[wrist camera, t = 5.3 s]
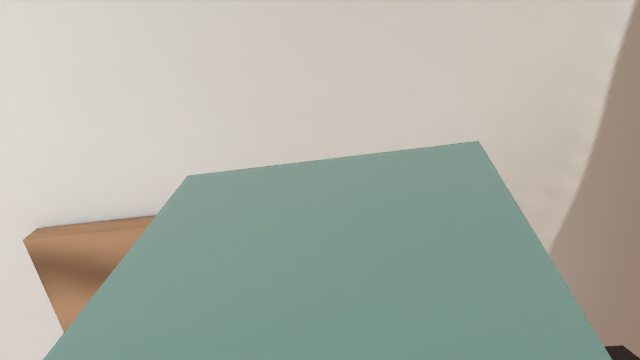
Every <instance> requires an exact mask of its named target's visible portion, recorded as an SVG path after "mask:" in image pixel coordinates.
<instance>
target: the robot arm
mask: <svg viewBox="0 0 640 360" xmlns="http://www.w3.org/2000/svg"><path fill="white" fill-rule="evenodd" d="M605 349H606V350H607V352H608V354H609V355H610V357H611V358H612V360H640V358H638V357H637V356H636V355H634V354H633V353H632V352H631V351H629V350H628V349H627V348H625V347H624V346H607V347H605Z"/></svg>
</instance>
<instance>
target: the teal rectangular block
mask: <svg viewBox="0 0 640 360" xmlns="http://www.w3.org/2000/svg"><path fill="white" fill-rule="evenodd" d="M43 360H612V358H611V357H610V355H609V354H608V352H607V350H606V349H605V347H604V345H603V344H602V342H601V340H600V339H599V337H598V336H597V334H596V332H595V331H594V329H593V327H592V326H591V324H590V323H589V321H588V320H587V318H586V316H585V315H584V313H583V311H582V310H581V308H580V306H579V304H578V303H577V301H576V300H575V298H574V296H573V295H572V293H571V291H570V290H569V288H568V286H567V285H566V283H565V282H564V280H563V278H562V277H561V275H560V274H559V272H558V270H557V268H556V267H555V265H554V264H553V262H552V260H551V259H550V257H549V255H548V254H547V252H546V250H545V249H544V247H543V246H542V244H541V242H540V241H539V239H538V237H537V236H536V234H535V232H534V231H533V229H532V228H531V226H530V224H529V223H528V221H527V219H526V218H525V216H524V214H523V213H522V211H521V210H520V208H519V206H518V205H517V203H516V201H515V200H514V198H513V196H512V195H511V193H510V192H509V190H508V188H507V187H506V185H505V183H504V182H503V180H502V178H501V177H500V175H499V174H498V172H497V170H496V169H495V167H494V165H493V164H492V162H491V160H490V159H489V157H488V156H487V154H486V152H485V151H484V149H483V147H482V146H481V144H480V142H479V141H475V142H467V143H458V144H450V145H442V146H433V147H425V148H416V149H408V150H400V151H391V152H383V153H375V154H366V155H358V156H350V157H341V158H333V159H325V160H316V161H308V162H299V163H291V164H283V165H274V166H266V167H258V168H249V169H241V170H233V171H224V172H216V173H207V174H199V175H191V176H187V177H186V179H185V180H184V181H183V182H182V184H181V185H180V186H179V188H178V189H177V190H176V191H175V193H174V194H173V195H172V196H171V198H170V199H169V200H168V201H167V203H166V204H165V205H164V207H163V208H162V209H161V210H160V212H159V213H158V214H157V215H156V217H155V218H154V219H153V221H152V222H151V223H150V224H149V226H148V227H147V228H146V229H145V231H144V232H143V233H142V235H141V236H140V237H139V238H138V240H137V241H136V242H135V243H134V245H133V246H132V247H131V249H130V250H129V251H128V252H127V254H126V255H125V256H124V257H123V259H122V260H121V261H120V262H119V264H118V265H117V266H116V268H115V269H114V270H113V271H112V273H111V274H110V275H109V276H108V278H107V279H106V280H105V282H104V283H103V284H102V285H101V287H100V288H99V289H98V290H97V292H96V293H95V294H94V296H93V297H92V298H91V299H90V301H89V302H88V303H87V304H86V306H85V307H84V308H83V310H82V311H81V312H80V313H79V315H78V316H77V317H76V318H75V320H74V321H73V322H72V323H71V325H70V326H69V327H68V329H67V330H66V331H65V332H64V334H63V335H62V336H61V337H60V339H59V340H58V341H57V343H56V344H55V345H54V346H53V348H52V349H51V350H50V351H49V353H48V354H47V355H46V357H45V358H44V359H43Z"/></svg>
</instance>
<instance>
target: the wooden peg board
mask: <svg viewBox="0 0 640 360" xmlns="http://www.w3.org/2000/svg"><path fill="white" fill-rule="evenodd" d="M155 217H156V216H148V217H139V218H129V219H120V220H111V221H102V222H92V223H83V224H74V225H65V226H56V227H46V228H37V229H36V230H35V231H33V232H32V233H31V234H30V235H28V236H27V237H26V238H25V239H24V240H23V241H24V244H25V246H26V248H27V250H28V253H29V255H30V257H31V259H32V262H33V264H34V266H35V268H36V270H37V273H38V275H39V277H40V279H41V282H42V284H43V286H44V288H45V291H46V293H47V295H48V297H49V300H50V302H51V304H52V306H53V309H54V311H55V313H56V315H57V318H58V320H59V322H60V324H61V326H62V329H63V331H64V332H65V331H66V330H67V329H68V327H69V326H70V325H71V323H72V322H73V321H74V320H75V318H76V317H77V316H78V315H79V313H80V312H81V311H82V310H83V308H84V307H85V306H86V304H87V303H88V302H89V301H90V299H91V298H92V297H93V296H94V294H95V293H96V292H97V290H98V289H99V288H100V287H101V285H102V284H103V283H104V282H105V280H106V279H107V278H108V276H109V275H110V274H111V273H112V271H113V270H114V269H115V268H116V266H117V265H118V264H119V262H120V261H121V260H122V259H123V257H124V256H125V255H126V254H127V252H128V251H129V250H130V249H131V247H132V246H133V245H134V243H135V242H136V241H137V240H138V238H139V237H140V236H141V235H142V233H143V232H144V231H145V229H146V228H147V227H148V226H149V224H150V223H151V222H152V221H153V219H154V218H155Z"/></svg>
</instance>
